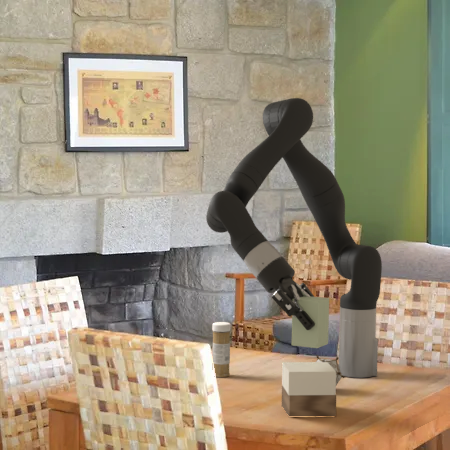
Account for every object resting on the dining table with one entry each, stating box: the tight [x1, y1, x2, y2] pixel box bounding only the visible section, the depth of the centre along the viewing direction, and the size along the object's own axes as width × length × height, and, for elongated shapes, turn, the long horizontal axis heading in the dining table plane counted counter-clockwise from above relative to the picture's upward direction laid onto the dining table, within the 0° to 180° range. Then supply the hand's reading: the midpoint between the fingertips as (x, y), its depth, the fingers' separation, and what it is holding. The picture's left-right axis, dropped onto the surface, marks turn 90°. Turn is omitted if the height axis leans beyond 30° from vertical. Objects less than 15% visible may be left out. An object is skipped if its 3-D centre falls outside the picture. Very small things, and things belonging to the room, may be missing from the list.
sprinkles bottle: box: [211, 321, 232, 378], centre depth 241 cm, size 5×5×13 cm
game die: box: [315, 355, 346, 386], centre depth 227 cm, size 9×8×10 cm
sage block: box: [290, 296, 330, 349], centre depth 207 cm, size 6×6×10 cm
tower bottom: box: [281, 384, 337, 417], centre depth 207 cm, size 10×10×5 cm
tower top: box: [281, 361, 337, 396], centre depth 207 cm, size 10×10×5 cm
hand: (317, 325), depth 206 cm, fingers closed on sage block, 6 cm apart
